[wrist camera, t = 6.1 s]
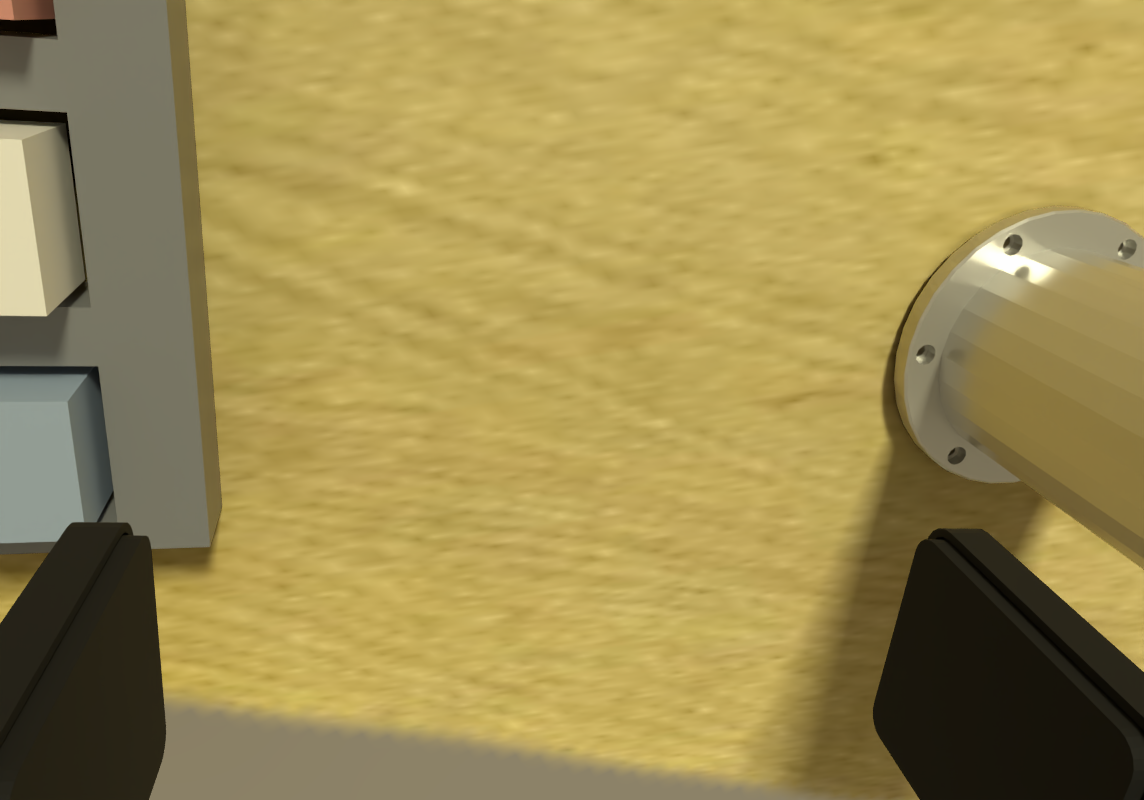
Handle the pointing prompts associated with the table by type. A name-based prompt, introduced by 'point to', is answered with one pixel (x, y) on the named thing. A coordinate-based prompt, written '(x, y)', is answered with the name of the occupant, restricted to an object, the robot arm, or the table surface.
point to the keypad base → (129, 256)
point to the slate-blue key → (51, 451)
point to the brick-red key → (26, 9)
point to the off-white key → (37, 219)
